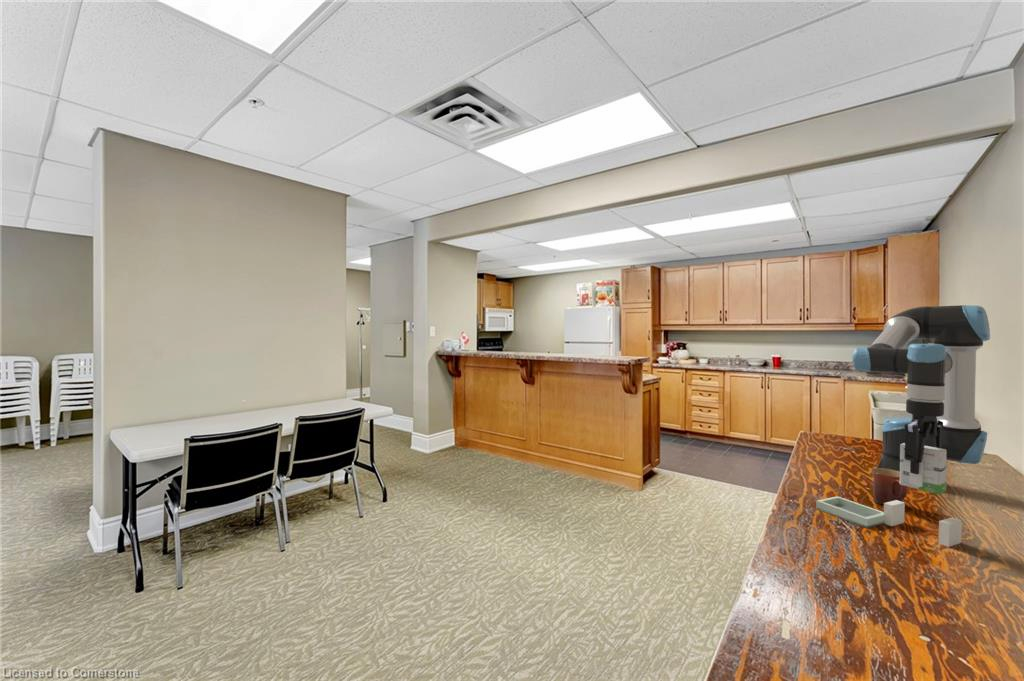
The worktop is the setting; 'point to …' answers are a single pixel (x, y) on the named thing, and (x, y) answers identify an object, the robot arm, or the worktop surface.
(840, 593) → the worktop surface
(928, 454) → the ink box
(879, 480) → the mug
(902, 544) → the worktop surface
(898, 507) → the white block pair
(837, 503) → the pale green tray
